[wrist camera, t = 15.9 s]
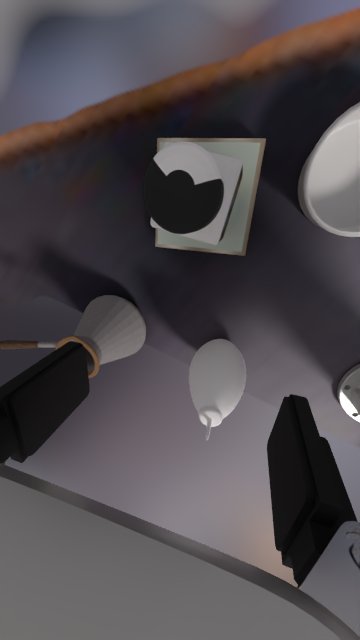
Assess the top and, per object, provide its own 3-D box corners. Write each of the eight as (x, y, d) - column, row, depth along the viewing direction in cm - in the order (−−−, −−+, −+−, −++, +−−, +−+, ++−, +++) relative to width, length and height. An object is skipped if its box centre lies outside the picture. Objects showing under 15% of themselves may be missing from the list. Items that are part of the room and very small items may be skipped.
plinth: (263, 146, 27) (266, 136, 23) (244, 252, 32) (244, 256, 28) (165, 145, 29) (155, 136, 26) (162, 244, 34) (153, 247, 31)
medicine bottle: (222, 240, 28) (210, 253, 18) (168, 224, 29) (126, 228, 18) (243, 174, 25) (244, 141, 14) (182, 158, 26) (140, 116, 15)
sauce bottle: (253, 358, 38) (262, 460, 22) (213, 373, 41) (194, 472, 25) (230, 320, 36) (221, 400, 20) (190, 339, 39) (154, 421, 23)
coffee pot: (152, 295, 38) (104, 337, 25) (151, 353, 43) (109, 414, 29) (43, 278, 42) (-49, 305, 29) (53, 332, 47) (-22, 378, 33)
